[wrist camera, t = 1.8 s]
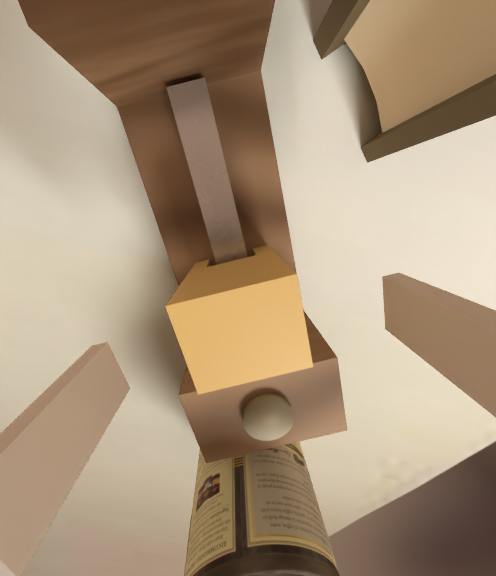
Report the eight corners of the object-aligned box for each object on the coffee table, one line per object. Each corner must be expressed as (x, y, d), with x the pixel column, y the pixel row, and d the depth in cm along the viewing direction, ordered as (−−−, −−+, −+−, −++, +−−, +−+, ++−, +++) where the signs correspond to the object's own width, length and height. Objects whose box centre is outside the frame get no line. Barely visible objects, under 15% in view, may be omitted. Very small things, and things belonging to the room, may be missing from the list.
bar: (260, 314, 22) (263, 324, 20) (235, 320, 22) (235, 331, 20) (207, 92, 16) (204, 77, 15) (173, 101, 16) (166, 87, 15)
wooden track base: (307, 355, 25) (351, 437, 16) (214, 377, 25) (205, 472, 16) (238, -28, 16) (247, -351, 7) (91, 10, 16) (-98, -258, 7)
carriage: (278, 300, 21) (313, 367, 12) (212, 317, 21) (198, 394, 12) (267, 244, 20) (296, 273, 11) (195, 262, 20) (164, 306, 11)
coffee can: (276, 462, 30) (313, 670, 16) (193, 449, 28) (158, 666, 15) (306, 395, 27) (381, 581, 13) (215, 376, 25) (197, 564, 12)
